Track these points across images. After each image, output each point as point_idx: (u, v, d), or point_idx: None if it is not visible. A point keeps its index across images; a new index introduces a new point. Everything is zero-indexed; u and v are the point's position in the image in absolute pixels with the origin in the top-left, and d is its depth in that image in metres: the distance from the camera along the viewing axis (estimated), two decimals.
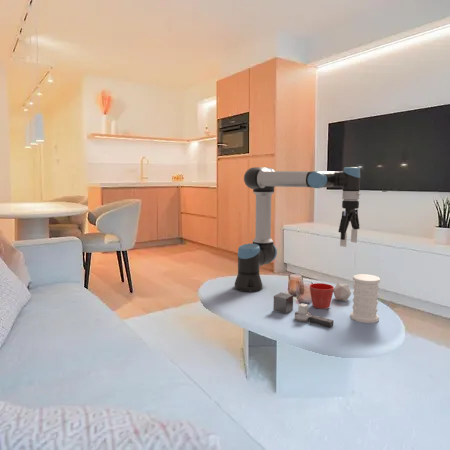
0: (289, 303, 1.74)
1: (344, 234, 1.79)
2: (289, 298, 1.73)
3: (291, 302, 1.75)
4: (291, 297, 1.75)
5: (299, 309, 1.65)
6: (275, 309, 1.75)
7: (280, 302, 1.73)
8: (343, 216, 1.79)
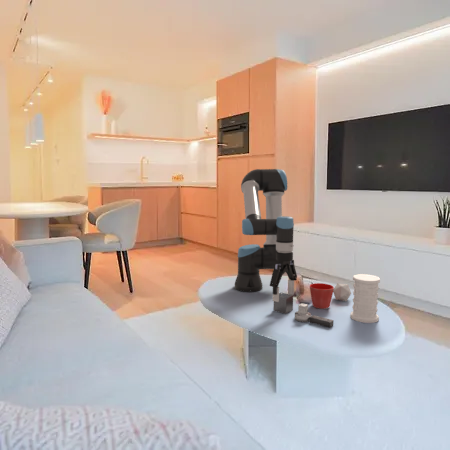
0: (289, 303, 1.74)
1: (276, 289, 1.68)
2: (289, 298, 1.73)
3: (291, 302, 1.75)
4: (291, 297, 1.75)
5: (299, 309, 1.65)
6: (275, 309, 1.75)
7: (280, 302, 1.73)
8: (275, 269, 1.68)
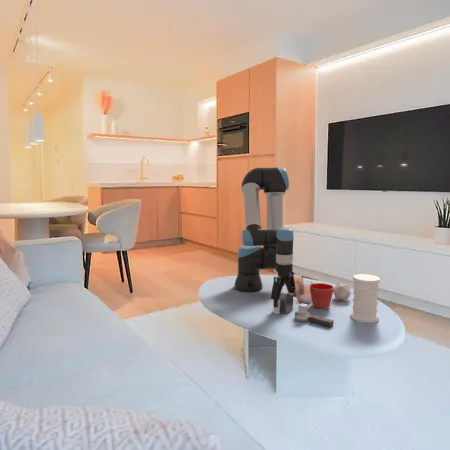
0: (289, 303, 1.74)
1: (277, 301, 1.70)
2: (289, 298, 1.73)
3: (291, 302, 1.75)
4: (291, 297, 1.75)
5: (299, 309, 1.65)
6: None
7: (280, 302, 1.73)
8: (275, 282, 1.69)
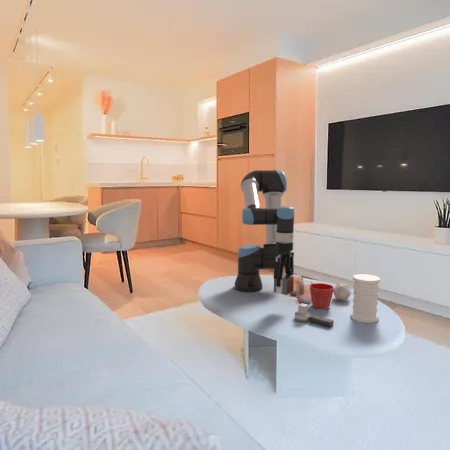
0: (289, 284, 1.73)
1: (279, 281, 1.71)
2: (289, 279, 1.72)
3: (291, 283, 1.74)
4: (291, 278, 1.74)
5: (299, 309, 1.65)
6: (275, 290, 1.74)
7: None
8: (276, 262, 1.69)
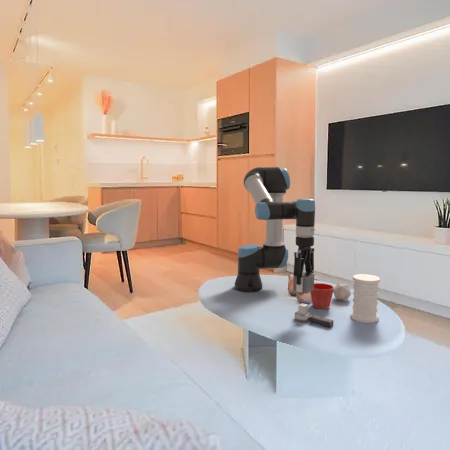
0: (310, 282, 1.61)
1: (300, 279, 1.59)
2: (310, 276, 1.61)
3: (312, 281, 1.63)
4: (312, 276, 1.62)
5: (299, 309, 1.65)
6: (295, 289, 1.63)
7: None
8: (296, 258, 1.57)
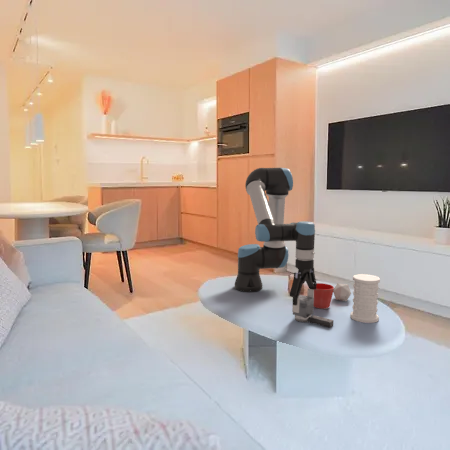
0: (310, 306, 1.63)
1: (296, 299, 1.58)
2: (310, 301, 1.62)
3: (312, 305, 1.64)
4: (312, 300, 1.64)
5: None
6: (295, 313, 1.64)
7: (300, 305, 1.62)
8: (295, 278, 1.58)
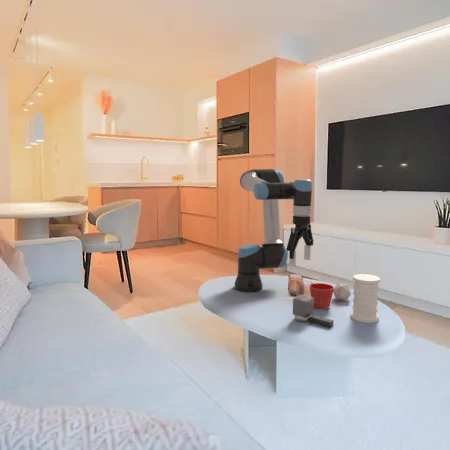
0: (310, 306, 1.63)
1: (293, 253, 1.64)
2: (309, 301, 1.62)
3: (312, 305, 1.64)
4: (312, 300, 1.64)
5: None
6: (295, 313, 1.64)
7: (300, 305, 1.62)
8: (292, 233, 1.64)
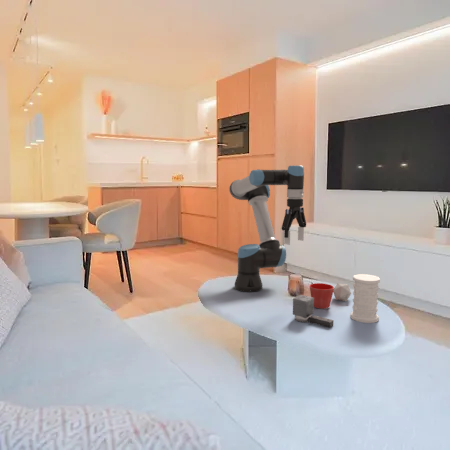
0: (310, 306, 1.63)
1: (287, 232, 1.80)
2: (309, 301, 1.62)
3: (312, 305, 1.64)
4: (312, 300, 1.64)
5: None
6: (295, 313, 1.64)
7: (300, 305, 1.62)
8: (287, 214, 1.80)
